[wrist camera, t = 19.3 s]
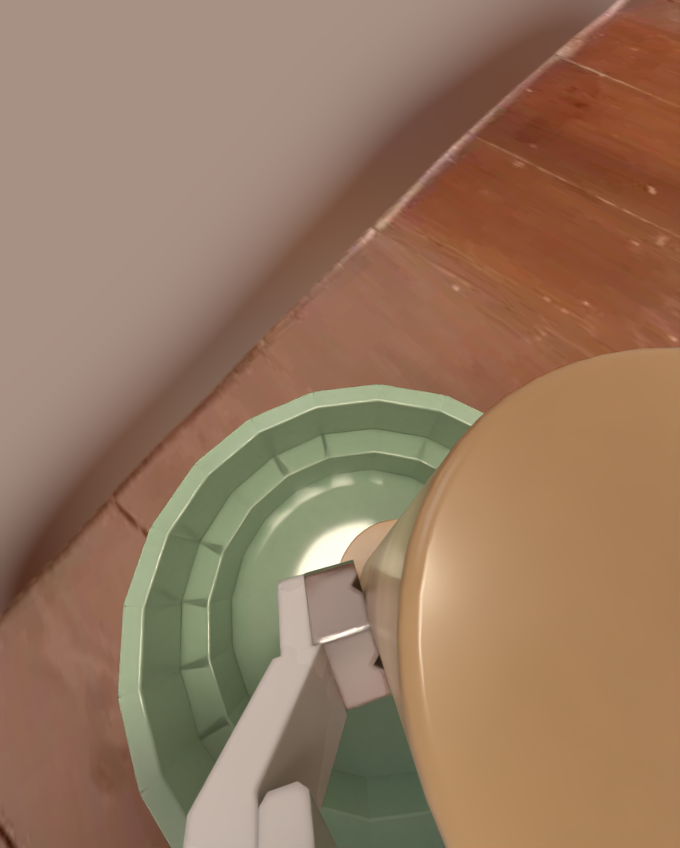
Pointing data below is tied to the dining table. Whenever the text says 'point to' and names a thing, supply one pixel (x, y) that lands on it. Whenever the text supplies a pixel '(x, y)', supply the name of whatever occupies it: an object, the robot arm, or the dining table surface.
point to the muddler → (543, 613)
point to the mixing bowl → (274, 597)
